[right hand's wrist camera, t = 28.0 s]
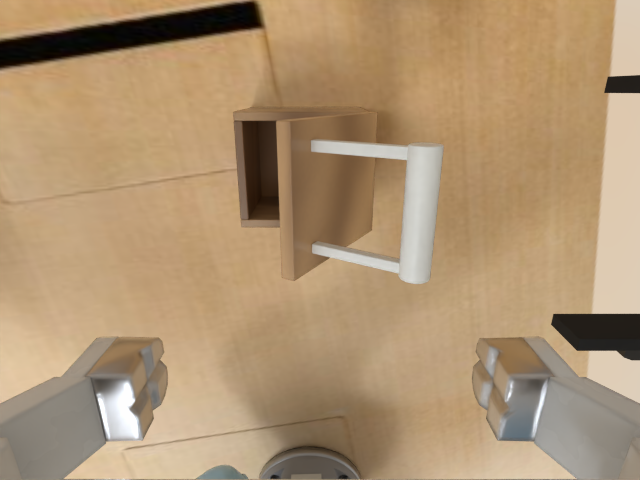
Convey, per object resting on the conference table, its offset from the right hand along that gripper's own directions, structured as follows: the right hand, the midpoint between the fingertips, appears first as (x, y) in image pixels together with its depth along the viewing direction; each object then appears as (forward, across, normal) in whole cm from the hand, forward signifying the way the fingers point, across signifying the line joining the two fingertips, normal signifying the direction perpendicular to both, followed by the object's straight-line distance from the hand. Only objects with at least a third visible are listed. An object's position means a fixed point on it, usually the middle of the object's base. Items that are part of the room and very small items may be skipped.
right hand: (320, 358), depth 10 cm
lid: (+20, +1, 0) cm, 20 cm away
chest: (+34, -1, 0) cm, 35 cm away
